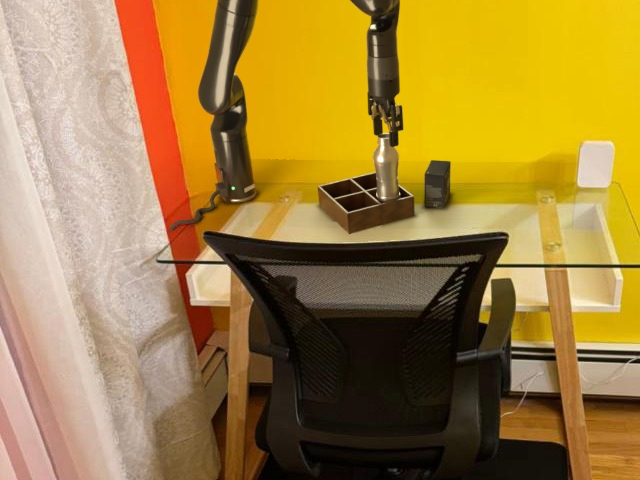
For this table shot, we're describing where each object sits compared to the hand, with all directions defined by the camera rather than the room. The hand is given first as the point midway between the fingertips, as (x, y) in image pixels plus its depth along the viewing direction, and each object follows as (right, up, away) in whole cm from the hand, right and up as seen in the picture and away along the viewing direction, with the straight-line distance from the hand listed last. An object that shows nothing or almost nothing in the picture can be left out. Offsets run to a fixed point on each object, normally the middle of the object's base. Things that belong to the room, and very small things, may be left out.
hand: (386, 140), depth 193 cm
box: (+13, -11, +17) cm, 25 cm away
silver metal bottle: (0, -15, +12) cm, 19 cm away
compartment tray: (-6, -15, +13) cm, 21 cm away
